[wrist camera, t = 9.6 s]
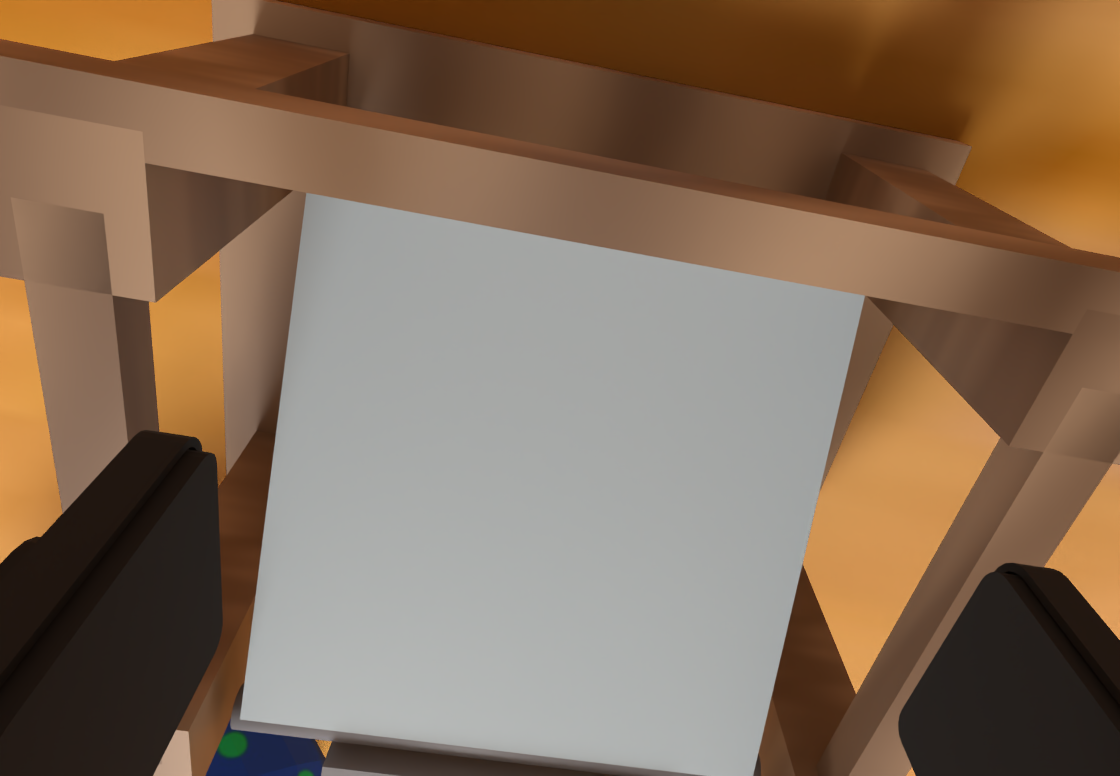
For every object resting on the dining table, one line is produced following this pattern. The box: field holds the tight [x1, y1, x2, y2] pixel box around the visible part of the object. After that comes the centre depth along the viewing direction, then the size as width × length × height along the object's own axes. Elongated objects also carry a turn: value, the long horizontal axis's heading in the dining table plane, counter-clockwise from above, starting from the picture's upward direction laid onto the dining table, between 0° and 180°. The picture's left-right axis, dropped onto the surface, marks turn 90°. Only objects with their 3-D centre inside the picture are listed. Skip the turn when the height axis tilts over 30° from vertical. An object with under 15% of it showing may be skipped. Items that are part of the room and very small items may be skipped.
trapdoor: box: [230, 193, 865, 776], centre depth 17 cm, size 12×16×2 cm
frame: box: [0, 0, 1120, 776], centre depth 19 cm, size 20×16×12 cm
